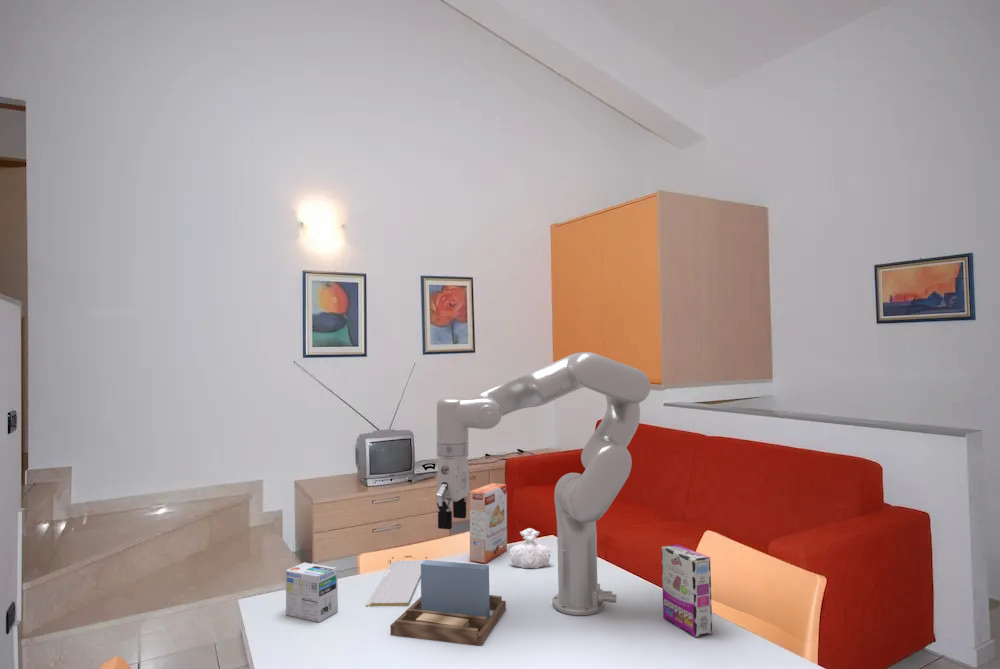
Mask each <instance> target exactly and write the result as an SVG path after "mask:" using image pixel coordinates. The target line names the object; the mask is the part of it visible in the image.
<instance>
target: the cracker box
mask: <svg viewBox="0 0 1000 669" xmlns="http://www.w3.org/2000/svg"><path fill="white" fill-rule="evenodd" d="M507 487H508V486H507V484H504V483H494V482H492V483H488V484H487V485H483V486H480V487H477V488H475V489H472V490H470V491H469V561H470V562H476V563H480V564H487V563H488V562H490V561H492V560H494V559H495V558H496V557H498V556H500V555H501V554H503V552H504V553H505V552H507V550H508V528H507V527H508V511H507V510H508V500H507V499H508V493H507V492H508V489H507ZM501 546H502V547H501Z"/></svg>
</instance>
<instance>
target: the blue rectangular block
mask: <svg viewBox="0 0 1000 669" xmlns="http://www.w3.org/2000/svg"><path fill="white" fill-rule="evenodd" d="M489 595H490V565H489V564H481V563H480V564H477V563H467V562H454V561H441V560H432V559H431V560H430V559H425V561H424V562H423V563H422V564H421V577H420V597H421V610H427V611H436V612H446V613H455V614H464V615H473V616H483V617H487V620H488V619H489V618H490V616H491V614H490V611H491V609H490V601H489Z"/></svg>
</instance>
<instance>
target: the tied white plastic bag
mask: <svg viewBox="0 0 1000 669" xmlns="http://www.w3.org/2000/svg"><path fill="white" fill-rule="evenodd" d="M519 534H520V535H521V537H522V540H524V542H523V543H519V544H517V545H515V546H512V547H511V548H510V549H509V552H508V553H509V558H510V561H511V564H512V565H513V566H514V567H517V568H522V569H539V568H542V567H546V566H548V564H549V563H550V558H551V549H550V548H549V547H548V546H544V545H543V544H540V543H536V541H535V540H537V539H538V538H537V537H538V536H539V535H540V531H538V530H535V529H534V528H532V527H528V528H526V529H524V530H522V531H519Z"/></svg>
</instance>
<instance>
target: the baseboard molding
mask: <svg viewBox="0 0 1000 669" xmlns="http://www.w3.org/2000/svg"><path fill="white" fill-rule="evenodd" d="M405 558H413V555H405ZM393 559H394V557H391V559H390V560H389V561H387V564H390V565H389V566H388V568H387V570H390V569H391V571H390V572H389V573H388V574H387V576H386V577H385V576H384V575H383V576H382V578H381V579H380V581H379V583H378V584H377V586H376V588H375V589H374V591H373V593H372V594H371V596H370V597H369V599H368V600H367V602H366V604H365V608H368V606H370V607H369V608H373V606H408V607H409V605H410V602H411V601H412V600H411V599H412V598H413V595H414V594H415V591H416V589H417V586H418V584H419V582H420V580H421V564H422V563H423V562H424V561H425V560H426V559H428V557H427V556H426V557H425V560H423V559H422V560H419V559H418V560H417V559H416V560H405V559H404V560H403V559H402V560H399V559H398V560H396V561H394V562H392V560H393ZM419 579H420V580H419ZM418 581H419V582H418ZM371 606H372V607H371Z"/></svg>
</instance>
